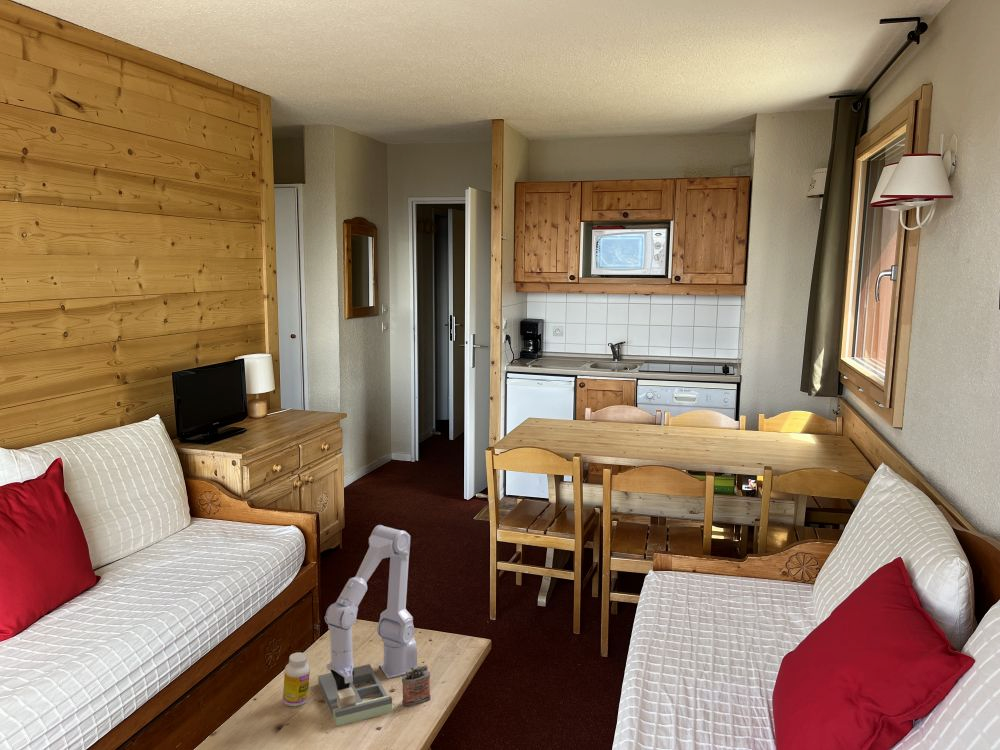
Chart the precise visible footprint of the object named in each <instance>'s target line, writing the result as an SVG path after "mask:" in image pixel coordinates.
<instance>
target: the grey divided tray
mask: <svg viewBox="0 0 1000 750" xmlns="http://www.w3.org/2000/svg"><path fill="white" fill-rule="evenodd" d="M353 670H354V676H353V682H350V685H349V688H350V687H352V689H353V691H354V693H355V698H356V705H354V706H350V707H346V708H342V709H339V708H338V705H337V691H338V690H337V686H336V682H335V679H334V677H333V675H332V673H331V672H329V673H328V672H327V673H325V674H320V675H317V680H318V683H319V684H318V686H319V689H320V690H321V693H322V695H323V696H322V697H324V700H325V703H326V705H327V707H328V710H329V712H330V714H331V717H332V720H333V721H334V723H335V726H336V727H340V726H343V725H347V724H350V723H355V722H359V721H363V720H367V719H370V718H374V717H378V716H382V715H386V714H390V713H393V697H392V696H391V695H390V696H388V694H387V692H386V690H385V688H384V686H383V685H382V683H381V681H380V680H379V678H378V676H377V675H376V673H375V671H374V668H373V667H372V666H371V663H367V664H364V665H358V666H355V667H354V666H353ZM369 682H371V683H372V684H370V685H365V686H362V687H358V688H357V687H355V686H357V685H361V684H365V683H369ZM373 695H374V696H375V695H378V696H379V697H377V698H373V699H369V700H364V701H363V700H362V698H363V699H364V698H366V697H370V696H373Z"/></svg>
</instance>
